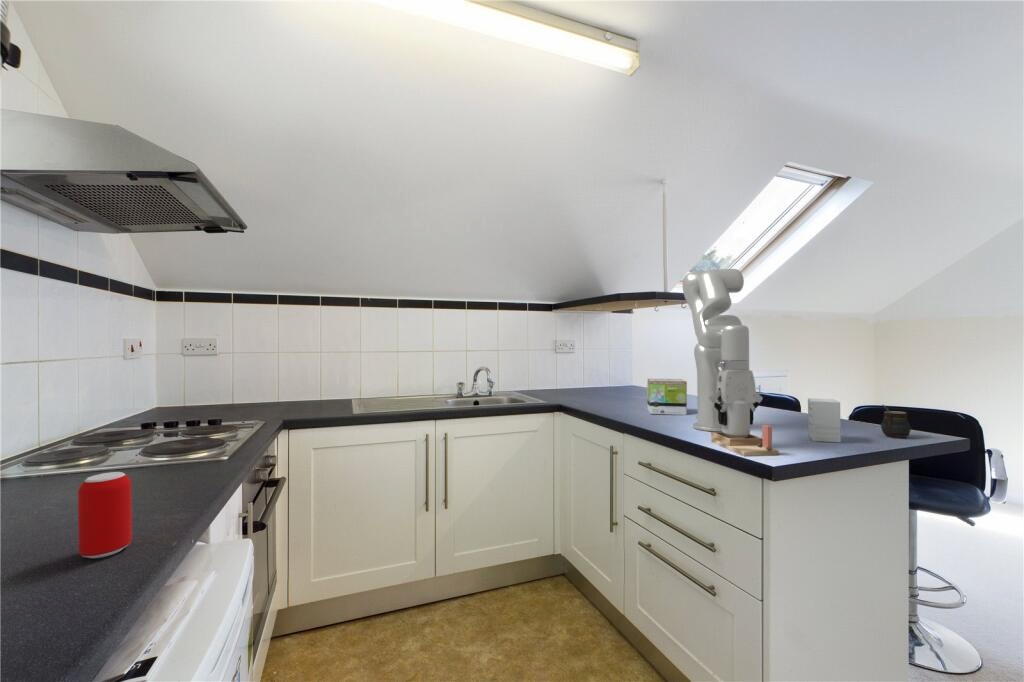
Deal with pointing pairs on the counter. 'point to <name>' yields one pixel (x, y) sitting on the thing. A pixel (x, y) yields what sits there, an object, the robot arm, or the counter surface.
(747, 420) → the can
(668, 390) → the tea box
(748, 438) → the base
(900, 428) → the mate gourd
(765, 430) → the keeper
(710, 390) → the robot arm
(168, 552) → the counter surface
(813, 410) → the supplement box
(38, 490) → the counter surface
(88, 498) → the beverage can
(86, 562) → the counter surface
